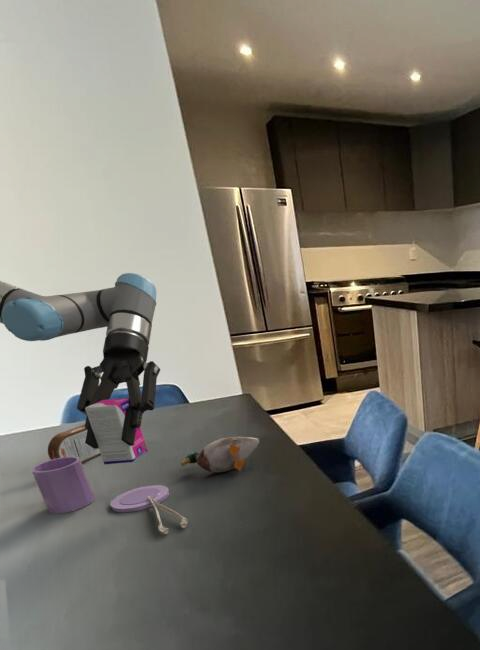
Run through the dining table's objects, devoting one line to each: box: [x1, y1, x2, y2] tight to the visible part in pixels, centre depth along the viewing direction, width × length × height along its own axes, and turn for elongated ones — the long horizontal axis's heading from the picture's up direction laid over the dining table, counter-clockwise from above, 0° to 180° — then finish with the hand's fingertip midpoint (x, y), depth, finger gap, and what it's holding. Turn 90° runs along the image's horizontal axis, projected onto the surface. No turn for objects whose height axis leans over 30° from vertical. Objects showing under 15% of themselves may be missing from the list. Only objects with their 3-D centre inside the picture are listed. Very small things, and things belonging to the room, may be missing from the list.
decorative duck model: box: [180, 435, 260, 473], centre depth 113 cm, size 15×8×15 cm
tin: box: [47, 423, 101, 464], centre depth 123 cm, size 15×3×8 cm, turn 168°
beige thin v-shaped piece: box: [147, 496, 188, 535], centre depth 93 cm, size 17×5×2 cm, turn 43°
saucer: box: [110, 484, 170, 513], centre depth 100 cm, size 10×10×1 cm
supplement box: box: [85, 397, 148, 466], centre depth 95 cm, size 6×6×12 cm
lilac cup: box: [30, 456, 95, 514], centre depth 99 cm, size 8×8×9 cm
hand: (109, 444), depth 92 cm, fingers closed on supplement box, 6 cm apart
